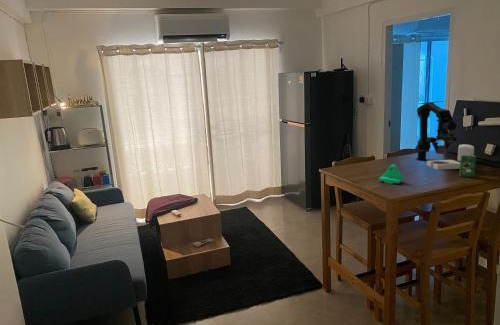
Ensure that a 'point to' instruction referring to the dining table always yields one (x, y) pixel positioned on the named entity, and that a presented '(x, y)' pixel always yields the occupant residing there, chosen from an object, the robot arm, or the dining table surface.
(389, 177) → the green peaked piece
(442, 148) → the cap
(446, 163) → the board
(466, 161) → the coffee box
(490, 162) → the dining table surface
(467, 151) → the photo printer
